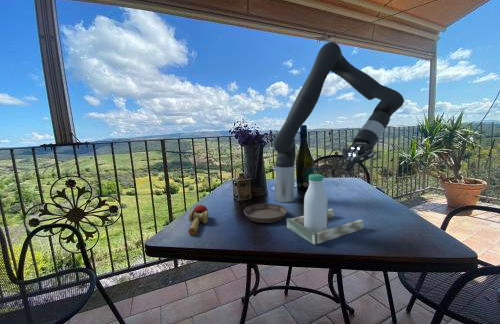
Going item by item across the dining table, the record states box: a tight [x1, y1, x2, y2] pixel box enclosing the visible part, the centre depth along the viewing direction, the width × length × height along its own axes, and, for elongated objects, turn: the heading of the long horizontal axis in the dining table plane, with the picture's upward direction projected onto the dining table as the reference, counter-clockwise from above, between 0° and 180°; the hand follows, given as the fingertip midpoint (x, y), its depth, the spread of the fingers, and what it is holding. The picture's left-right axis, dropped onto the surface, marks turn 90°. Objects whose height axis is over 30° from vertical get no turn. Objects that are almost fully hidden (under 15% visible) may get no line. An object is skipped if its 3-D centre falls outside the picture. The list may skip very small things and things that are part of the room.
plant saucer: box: [243, 203, 288, 224], centre depth 94 cm, size 18×18×3 cm
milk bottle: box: [303, 173, 329, 233], centre depth 76 cm, size 8×8×20 cm
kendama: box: [188, 204, 209, 236], centre depth 88 cm, size 8×6×18 cm
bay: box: [286, 208, 364, 246], centre depth 80 cm, size 22×14×4 cm, turn 117°
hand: (345, 170), depth 83 cm, fingers closed
